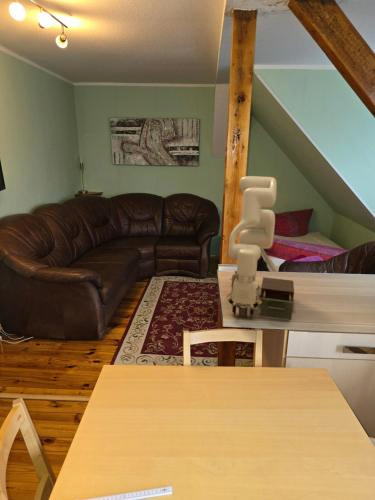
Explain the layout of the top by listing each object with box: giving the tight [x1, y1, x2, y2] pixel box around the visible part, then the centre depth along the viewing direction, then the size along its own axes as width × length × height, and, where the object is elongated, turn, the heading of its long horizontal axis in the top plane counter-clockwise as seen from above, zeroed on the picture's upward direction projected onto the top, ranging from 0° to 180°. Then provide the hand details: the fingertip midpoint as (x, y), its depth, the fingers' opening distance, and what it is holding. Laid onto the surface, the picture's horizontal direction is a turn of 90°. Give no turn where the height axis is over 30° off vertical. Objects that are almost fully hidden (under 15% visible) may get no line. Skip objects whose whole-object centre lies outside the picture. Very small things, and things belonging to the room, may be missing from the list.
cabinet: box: [259, 276, 295, 307], centre depth 160 cm, size 15×15×10 cm
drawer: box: [259, 290, 294, 321], centre depth 148 cm, size 18×13×8 cm
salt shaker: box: [238, 303, 248, 319], centre depth 147 cm, size 4×4×6 cm
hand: (242, 314), depth 148 cm, fingers open, 6 cm apart
